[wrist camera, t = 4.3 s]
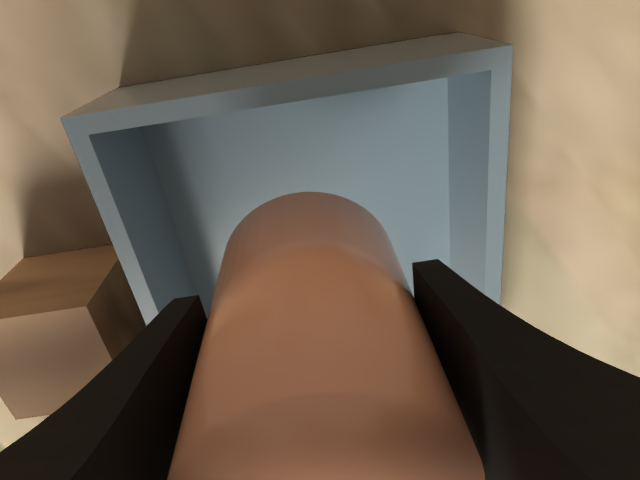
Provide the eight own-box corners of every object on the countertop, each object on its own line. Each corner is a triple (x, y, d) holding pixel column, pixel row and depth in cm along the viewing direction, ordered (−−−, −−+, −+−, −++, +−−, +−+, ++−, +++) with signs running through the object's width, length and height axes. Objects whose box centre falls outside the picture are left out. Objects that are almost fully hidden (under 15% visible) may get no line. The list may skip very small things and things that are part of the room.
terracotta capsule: (402, 190, 12) (515, 384, 6) (387, 336, 15) (458, 582, 9) (214, 192, 12) (136, 399, 6) (229, 340, 14) (185, 599, 8)
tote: (459, 366, 26) (492, 444, 21) (226, 399, 26) (211, 482, 22) (458, 32, 17) (512, 44, 13) (118, 87, 18) (60, 118, 13)
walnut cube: (163, 325, 23) (132, 402, 19) (68, 340, 24) (15, 419, 19) (129, 240, 21) (86, 306, 17) (24, 257, 21) (-47, 326, 17)
